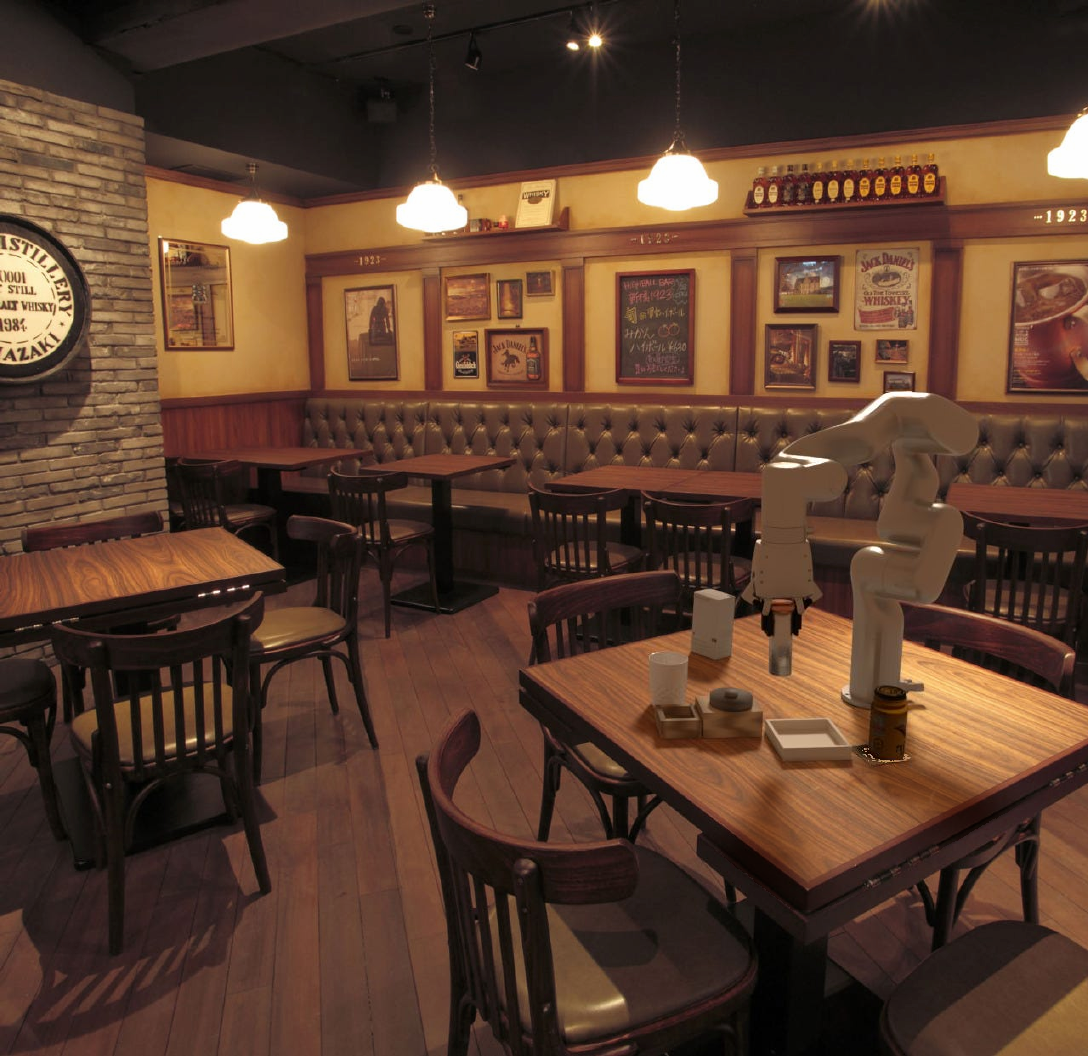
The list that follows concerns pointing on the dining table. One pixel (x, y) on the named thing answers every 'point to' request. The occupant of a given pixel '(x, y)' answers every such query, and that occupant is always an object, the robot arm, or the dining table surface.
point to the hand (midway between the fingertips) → (781, 632)
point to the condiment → (886, 726)
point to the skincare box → (712, 623)
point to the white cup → (668, 677)
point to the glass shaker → (781, 637)
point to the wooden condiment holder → (712, 716)
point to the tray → (807, 739)
